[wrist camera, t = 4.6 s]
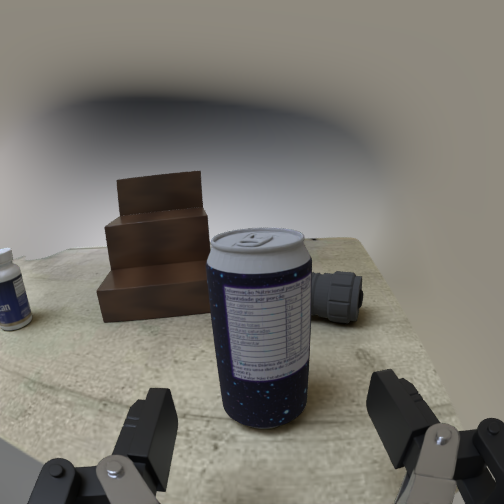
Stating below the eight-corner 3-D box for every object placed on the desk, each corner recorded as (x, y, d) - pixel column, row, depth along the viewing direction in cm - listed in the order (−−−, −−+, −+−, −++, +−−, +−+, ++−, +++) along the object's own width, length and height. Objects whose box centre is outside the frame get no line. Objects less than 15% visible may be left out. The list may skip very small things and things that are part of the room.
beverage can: (316, 392, 21) (323, 228, 17) (288, 446, 16) (290, 254, 13) (247, 376, 23) (236, 224, 20) (208, 421, 18) (181, 245, 15)
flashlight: (363, 310, 33) (366, 264, 31) (357, 334, 28) (362, 282, 27) (240, 295, 39) (237, 254, 38) (219, 313, 34) (214, 267, 33)
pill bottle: (-6, 332, 28) (-27, 259, 25) (9, 315, 33) (-7, 249, 30) (24, 331, 29) (3, 254, 26) (38, 313, 34) (22, 244, 32)
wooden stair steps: (207, 264, 53) (200, 170, 49) (220, 311, 35) (209, 168, 31) (128, 273, 50) (117, 179, 46) (103, 322, 32) (80, 183, 28)
